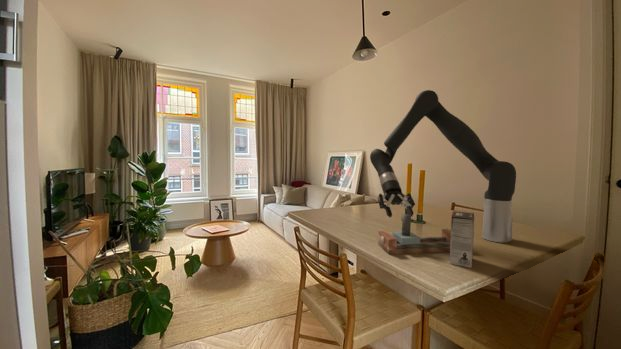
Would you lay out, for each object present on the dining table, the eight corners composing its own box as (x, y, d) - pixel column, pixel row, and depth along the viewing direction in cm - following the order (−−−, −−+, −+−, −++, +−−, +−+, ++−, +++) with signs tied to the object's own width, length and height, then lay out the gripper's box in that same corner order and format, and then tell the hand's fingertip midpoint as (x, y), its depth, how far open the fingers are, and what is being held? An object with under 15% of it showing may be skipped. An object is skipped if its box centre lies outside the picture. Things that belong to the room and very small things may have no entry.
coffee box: (450, 254, 89) (452, 210, 88) (471, 258, 85) (474, 212, 84) (449, 264, 81) (451, 215, 80) (472, 268, 78) (475, 218, 76)
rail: (449, 241, 102) (449, 228, 101) (466, 251, 92) (467, 236, 91) (377, 244, 99) (377, 231, 98) (387, 254, 89) (387, 239, 88)
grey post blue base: (409, 237, 99) (410, 212, 98) (420, 244, 91) (420, 217, 90) (392, 237, 98) (393, 212, 97) (401, 244, 90) (402, 217, 90)
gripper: (376, 179, 105) (386, 211, 95) (408, 178, 107) (421, 210, 96) (372, 189, 111) (381, 221, 100) (402, 189, 112) (414, 220, 102)
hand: (401, 216), depth 98 cm, fingers open, 8 cm apart
